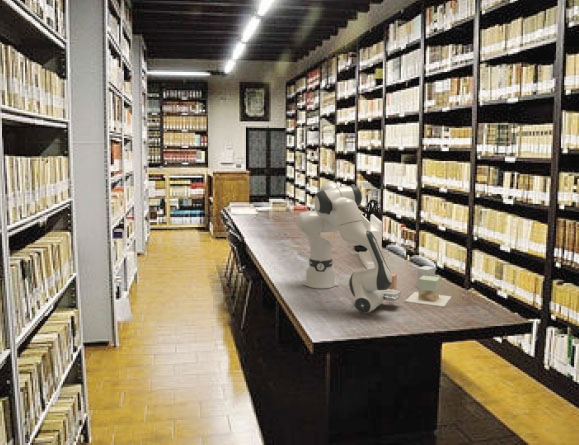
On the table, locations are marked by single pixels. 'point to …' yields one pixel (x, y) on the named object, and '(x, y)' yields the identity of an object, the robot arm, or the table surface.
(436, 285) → the sage slab
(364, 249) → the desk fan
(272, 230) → the table surface
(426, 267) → the small box
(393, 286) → the terracotta block
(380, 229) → the white stand
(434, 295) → the wooden block
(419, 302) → the felt pad
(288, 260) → the table surface
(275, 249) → the table surface
